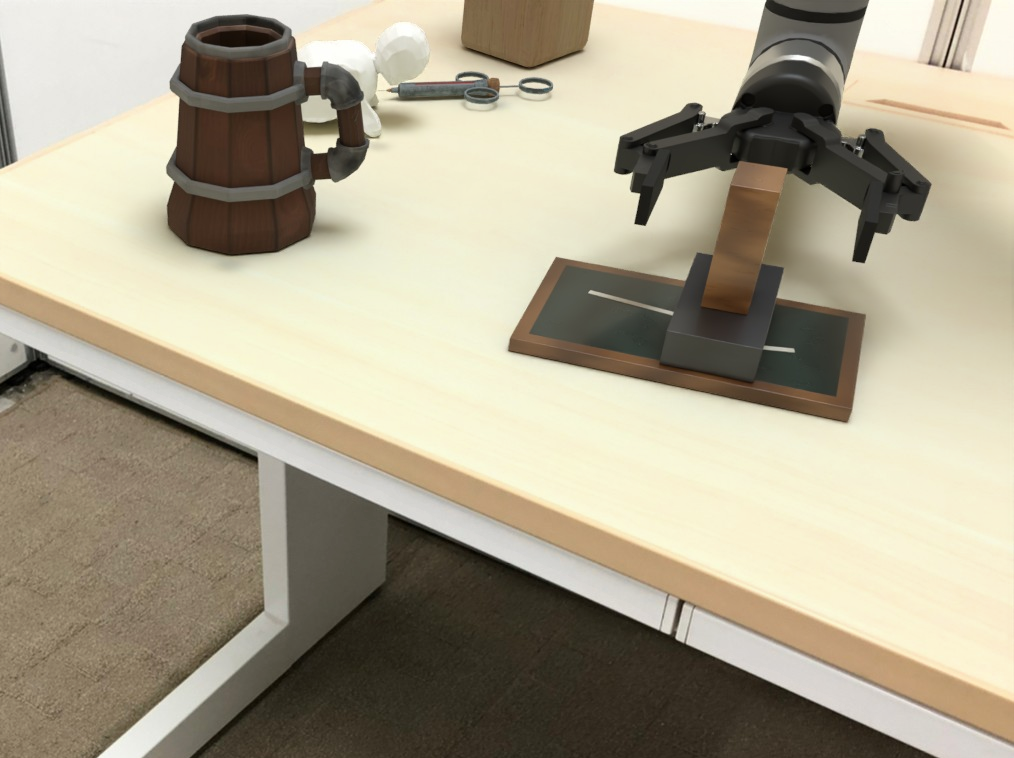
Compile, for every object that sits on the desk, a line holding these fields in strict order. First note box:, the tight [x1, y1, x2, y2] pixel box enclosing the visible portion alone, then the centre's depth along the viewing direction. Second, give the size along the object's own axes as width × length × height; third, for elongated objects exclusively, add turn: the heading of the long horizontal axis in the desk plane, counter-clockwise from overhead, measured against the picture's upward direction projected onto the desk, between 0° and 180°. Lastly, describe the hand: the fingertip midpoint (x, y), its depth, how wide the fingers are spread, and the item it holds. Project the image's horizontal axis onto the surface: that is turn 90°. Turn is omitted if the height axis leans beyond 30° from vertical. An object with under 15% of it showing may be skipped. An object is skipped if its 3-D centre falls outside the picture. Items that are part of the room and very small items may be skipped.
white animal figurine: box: [297, 21, 431, 138], centre depth 114 cm, size 9×8×15 cm
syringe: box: [377, 70, 554, 105], centre depth 121 cm, size 8×18×2 cm, turn 95°
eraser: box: [659, 161, 788, 383], centre depth 81 cm, size 6×12×11 cm, turn 156°
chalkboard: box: [507, 256, 867, 423], centre depth 86 cm, size 22×13×1 cm, turn 66°
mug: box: [165, 13, 371, 255], centre depth 95 cm, size 16×12×15 cm
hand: (751, 224), depth 79 cm, fingers open, 13 cm apart
